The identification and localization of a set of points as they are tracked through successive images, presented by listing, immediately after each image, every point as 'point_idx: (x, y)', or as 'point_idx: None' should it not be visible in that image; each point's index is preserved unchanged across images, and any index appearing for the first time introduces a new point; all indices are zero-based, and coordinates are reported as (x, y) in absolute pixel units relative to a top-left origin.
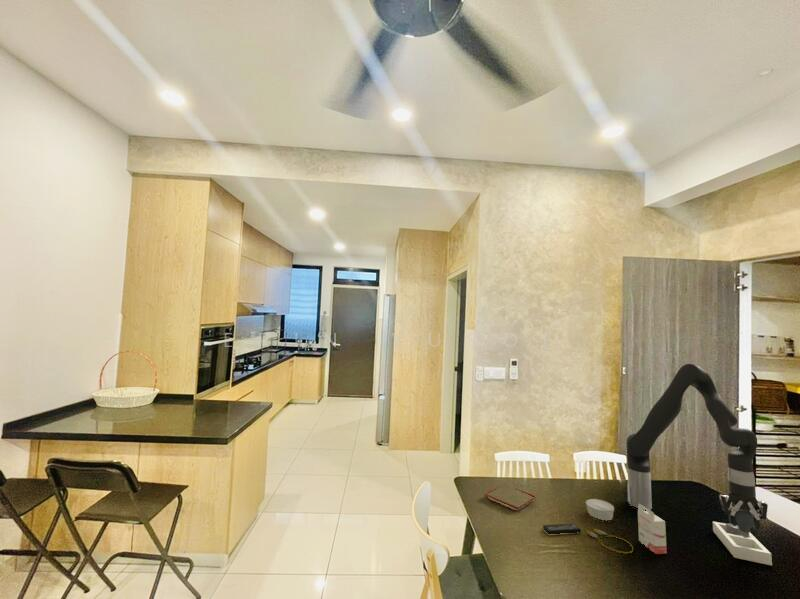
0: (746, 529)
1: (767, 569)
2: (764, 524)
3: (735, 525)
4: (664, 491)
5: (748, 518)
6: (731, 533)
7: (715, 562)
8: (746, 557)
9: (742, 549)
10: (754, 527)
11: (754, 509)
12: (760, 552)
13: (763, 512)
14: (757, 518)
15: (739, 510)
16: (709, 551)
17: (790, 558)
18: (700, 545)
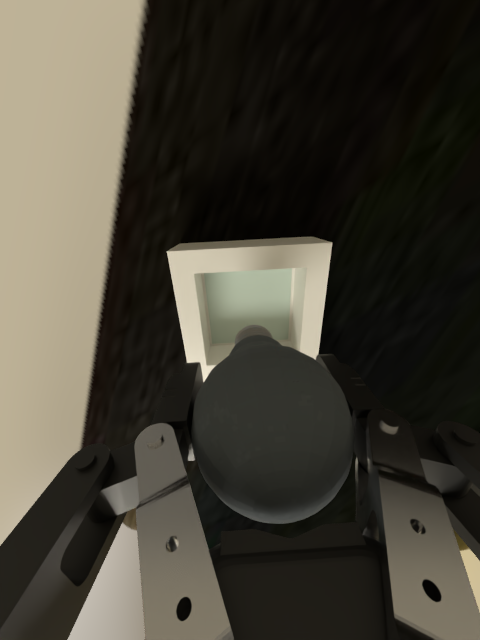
0: (258, 342)
1: (210, 189)
2: None
3: (320, 355)
4: None
5: (258, 397)
6: None
7: (438, 119)
8: (270, 240)
9: (292, 242)
10: (200, 378)
11: (150, 586)
12: (214, 247)
13: (36, 553)
14: (160, 436)
15: (323, 498)
16: (398, 239)
17: (103, 345)
18: (408, 279)
